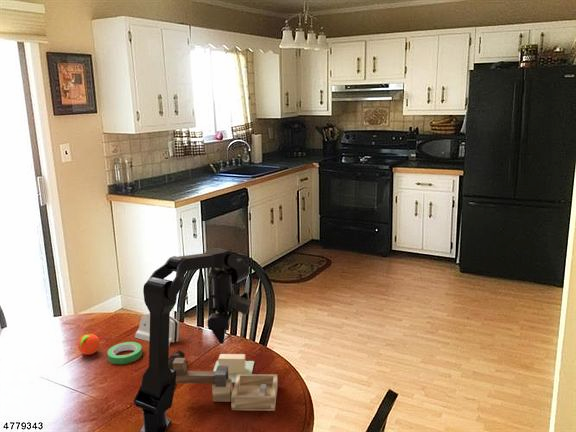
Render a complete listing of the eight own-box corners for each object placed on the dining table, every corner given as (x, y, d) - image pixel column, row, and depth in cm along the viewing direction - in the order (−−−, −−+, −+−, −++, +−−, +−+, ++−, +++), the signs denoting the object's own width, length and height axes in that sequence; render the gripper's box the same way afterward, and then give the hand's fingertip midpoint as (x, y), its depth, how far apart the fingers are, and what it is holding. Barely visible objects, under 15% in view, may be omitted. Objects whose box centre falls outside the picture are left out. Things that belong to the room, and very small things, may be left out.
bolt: (183, 364, 168) (164, 388, 154) (170, 356, 169) (150, 379, 154) (191, 351, 167) (172, 373, 152) (178, 343, 167) (158, 364, 153)
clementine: (90, 361, 168) (88, 341, 166) (72, 358, 170) (70, 339, 168) (104, 349, 175) (102, 330, 174) (87, 347, 177) (85, 328, 176)
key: (215, 383, 143) (214, 363, 142) (174, 383, 144) (172, 363, 142) (217, 378, 146) (216, 358, 145) (176, 377, 147) (175, 357, 145)
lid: (249, 384, 153) (249, 366, 152) (209, 384, 154) (208, 366, 152) (254, 363, 165) (253, 347, 164) (216, 363, 166) (215, 346, 165)
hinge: (134, 337, 184) (138, 309, 185) (143, 336, 188) (147, 309, 189) (169, 347, 177) (173, 318, 177) (178, 345, 181) (182, 317, 182)
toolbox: (274, 410, 139) (273, 381, 137) (210, 409, 140) (208, 381, 138) (277, 386, 151) (276, 359, 149) (218, 385, 152) (216, 359, 150)
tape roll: (122, 368, 164) (121, 360, 163) (101, 359, 170) (100, 351, 169) (149, 354, 172) (148, 347, 172) (128, 345, 179) (127, 338, 178)
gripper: (244, 300, 143) (246, 351, 146) (252, 278, 161) (253, 324, 164) (205, 300, 143) (208, 350, 147) (218, 278, 162) (220, 323, 165)
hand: (224, 336), depth 156 cm, fingers open, 9 cm apart
